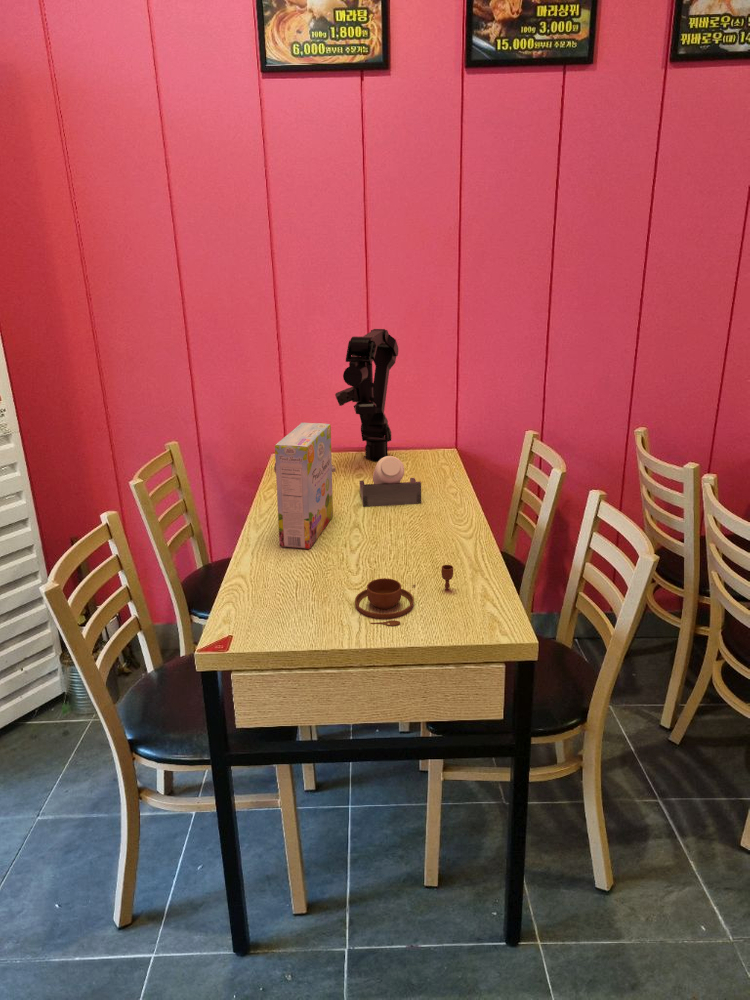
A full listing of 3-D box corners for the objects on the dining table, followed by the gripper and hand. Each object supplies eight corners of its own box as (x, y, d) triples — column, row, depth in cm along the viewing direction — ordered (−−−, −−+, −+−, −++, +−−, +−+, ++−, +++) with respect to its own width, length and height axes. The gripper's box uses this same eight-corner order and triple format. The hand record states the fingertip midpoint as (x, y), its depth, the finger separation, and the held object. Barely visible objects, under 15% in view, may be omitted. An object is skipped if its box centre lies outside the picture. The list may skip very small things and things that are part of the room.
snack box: (313, 550, 177) (307, 446, 168) (278, 548, 178) (270, 445, 169) (336, 516, 197) (331, 421, 188) (304, 515, 198) (298, 421, 189)
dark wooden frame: (359, 490, 215) (359, 470, 213) (414, 487, 216) (414, 467, 214) (363, 506, 203) (362, 486, 201) (421, 503, 204) (421, 482, 202)
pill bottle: (369, 488, 213) (373, 475, 198) (376, 462, 215) (381, 447, 200) (395, 495, 213) (402, 483, 199) (402, 469, 215) (409, 456, 200)
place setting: (360, 586, 160) (359, 561, 158) (453, 588, 158) (454, 563, 156) (350, 627, 144) (349, 600, 142) (454, 630, 142) (454, 603, 140)
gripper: (334, 374, 230) (337, 423, 236) (337, 386, 213) (339, 439, 218) (370, 372, 231) (372, 421, 237) (376, 385, 214) (377, 437, 219)
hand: (364, 429), depth 228 cm, fingers closed
